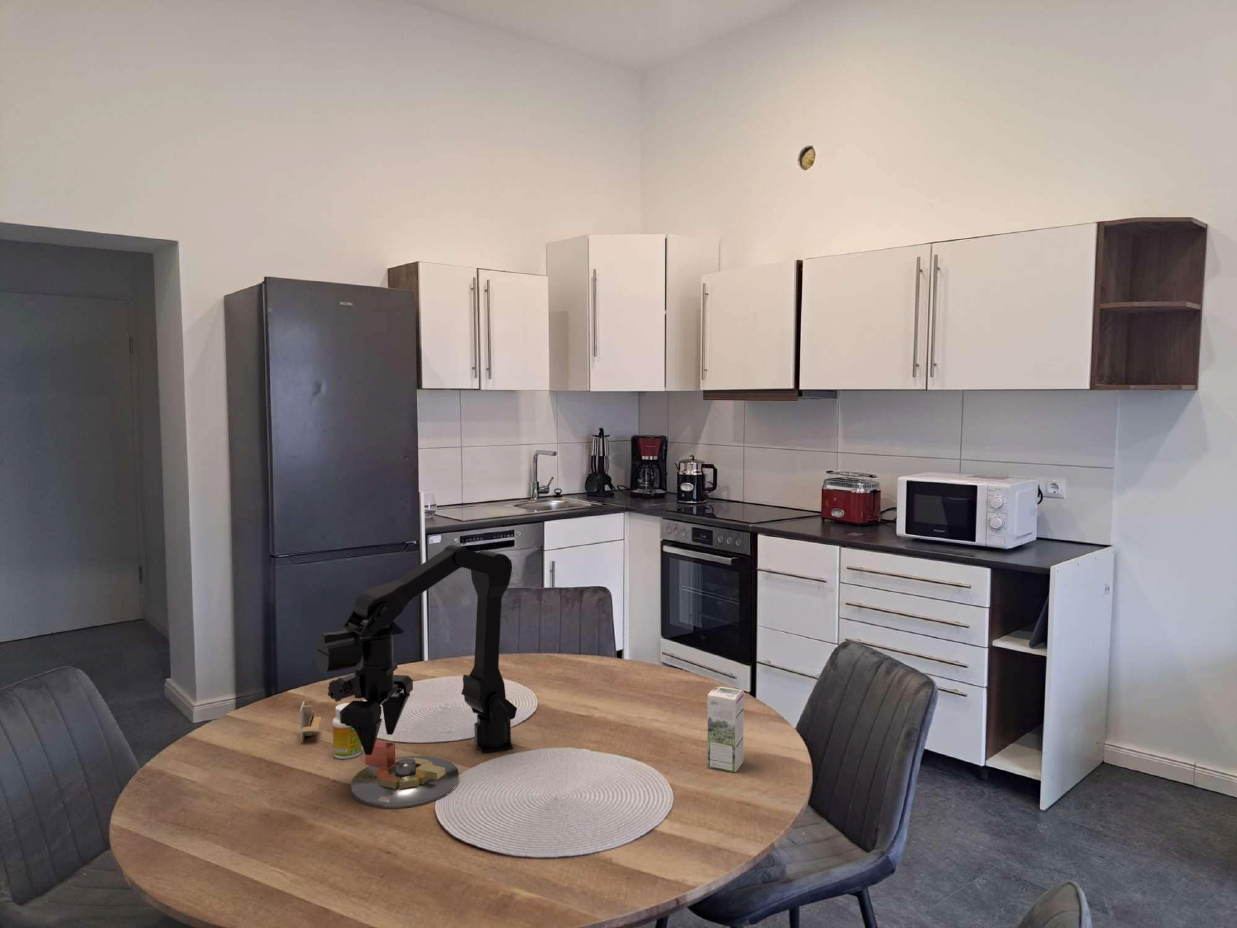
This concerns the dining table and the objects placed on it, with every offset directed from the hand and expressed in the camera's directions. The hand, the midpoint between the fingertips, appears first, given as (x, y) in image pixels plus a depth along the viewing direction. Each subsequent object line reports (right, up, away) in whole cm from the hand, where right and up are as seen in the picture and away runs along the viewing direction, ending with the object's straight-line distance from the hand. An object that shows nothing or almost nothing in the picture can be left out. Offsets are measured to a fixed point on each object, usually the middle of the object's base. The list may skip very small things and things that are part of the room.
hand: (379, 744), depth 155 cm
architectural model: (-21, -6, +22) cm, 31 cm away
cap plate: (+5, -7, 0) cm, 9 cm away
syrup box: (+64, -7, +7) cm, 65 cm away
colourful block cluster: (+5, -6, 0) cm, 7 cm away
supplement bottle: (-10, -7, +13) cm, 18 cm away
